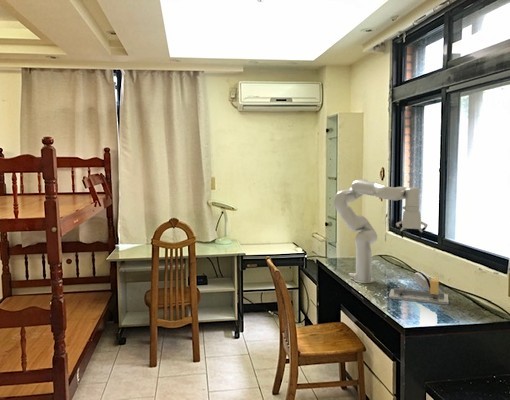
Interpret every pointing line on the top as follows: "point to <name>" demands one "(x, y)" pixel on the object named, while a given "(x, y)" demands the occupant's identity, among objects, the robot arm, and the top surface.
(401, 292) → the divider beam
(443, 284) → the top surface
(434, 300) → the hole plate
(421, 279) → the grey curved piece
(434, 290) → the block
